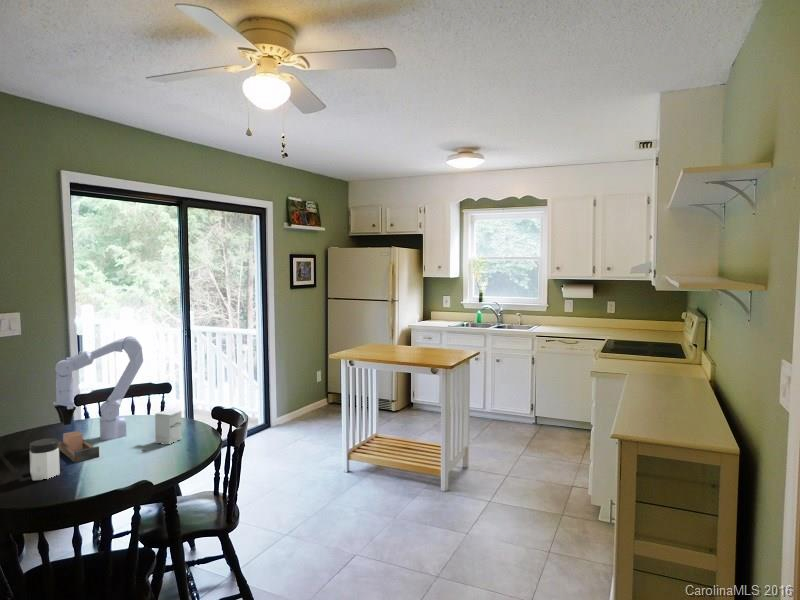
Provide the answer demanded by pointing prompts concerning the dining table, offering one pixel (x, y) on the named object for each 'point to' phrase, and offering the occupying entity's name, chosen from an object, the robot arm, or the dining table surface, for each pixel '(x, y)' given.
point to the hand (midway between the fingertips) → (65, 423)
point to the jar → (44, 459)
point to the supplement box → (168, 426)
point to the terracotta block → (73, 440)
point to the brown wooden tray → (80, 452)
